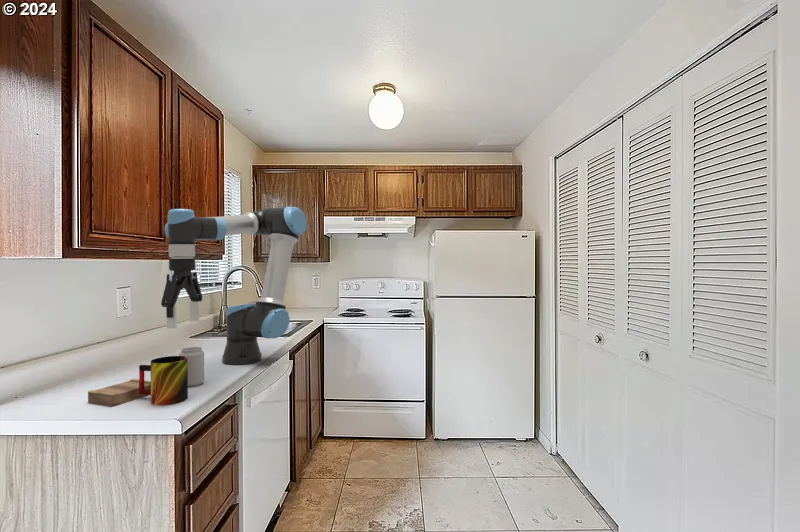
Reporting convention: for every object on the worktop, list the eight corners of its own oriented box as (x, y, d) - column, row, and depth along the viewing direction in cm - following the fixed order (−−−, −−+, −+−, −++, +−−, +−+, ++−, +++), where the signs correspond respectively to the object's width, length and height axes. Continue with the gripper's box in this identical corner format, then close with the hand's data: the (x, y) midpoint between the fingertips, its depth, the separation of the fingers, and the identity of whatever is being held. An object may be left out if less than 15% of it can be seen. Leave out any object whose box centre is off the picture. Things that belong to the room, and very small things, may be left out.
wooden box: (133, 389, 140) (133, 378, 140) (156, 392, 136) (155, 382, 136) (88, 402, 127) (87, 391, 126) (112, 406, 123) (111, 395, 123)
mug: (139, 397, 131) (139, 357, 131) (190, 393, 135) (190, 355, 135) (129, 408, 122) (129, 365, 122) (184, 403, 126) (184, 362, 126)
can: (194, 388, 141) (194, 351, 140) (174, 386, 142) (173, 350, 142) (209, 381, 148) (208, 346, 148) (189, 380, 150) (189, 345, 149)
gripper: (190, 257, 152) (192, 318, 152) (146, 258, 127) (148, 331, 127) (212, 257, 151) (213, 318, 152) (171, 258, 126) (173, 331, 127)
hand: (183, 324), depth 140 cm, fingers open, 13 cm apart
